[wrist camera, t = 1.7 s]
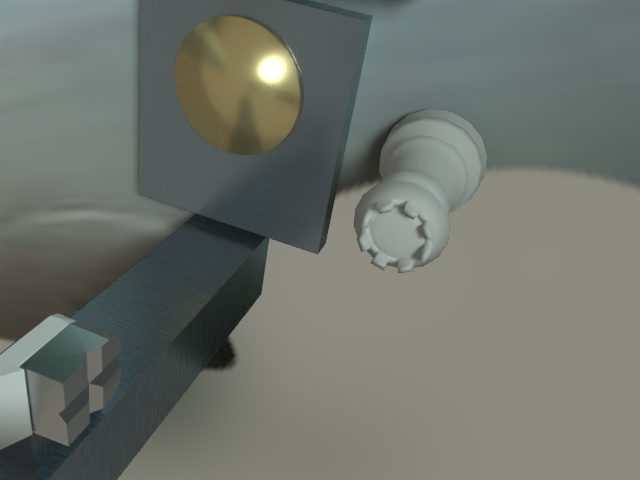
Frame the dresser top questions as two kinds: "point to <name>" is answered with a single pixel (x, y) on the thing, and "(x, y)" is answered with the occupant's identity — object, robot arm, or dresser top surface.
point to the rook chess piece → (419, 188)
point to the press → (212, 199)
